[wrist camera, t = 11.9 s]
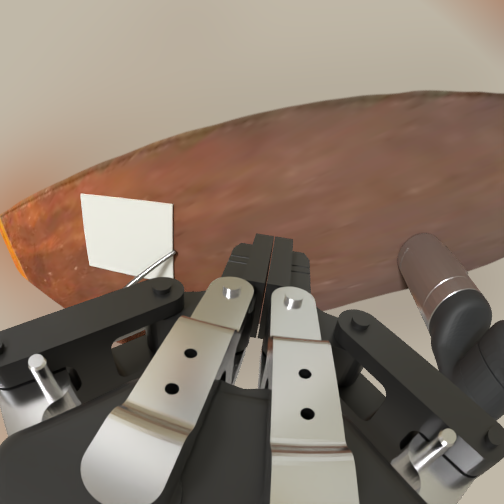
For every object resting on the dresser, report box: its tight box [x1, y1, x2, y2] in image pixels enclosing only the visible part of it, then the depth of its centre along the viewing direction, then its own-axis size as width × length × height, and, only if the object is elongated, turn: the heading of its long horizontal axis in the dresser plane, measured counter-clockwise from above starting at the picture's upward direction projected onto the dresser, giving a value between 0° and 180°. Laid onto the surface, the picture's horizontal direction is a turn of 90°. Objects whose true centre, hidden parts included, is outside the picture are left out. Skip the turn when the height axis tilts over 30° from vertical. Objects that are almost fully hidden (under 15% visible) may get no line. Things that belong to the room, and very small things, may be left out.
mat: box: [81, 194, 174, 279], centre depth 55 cm, size 20×16×1 cm
